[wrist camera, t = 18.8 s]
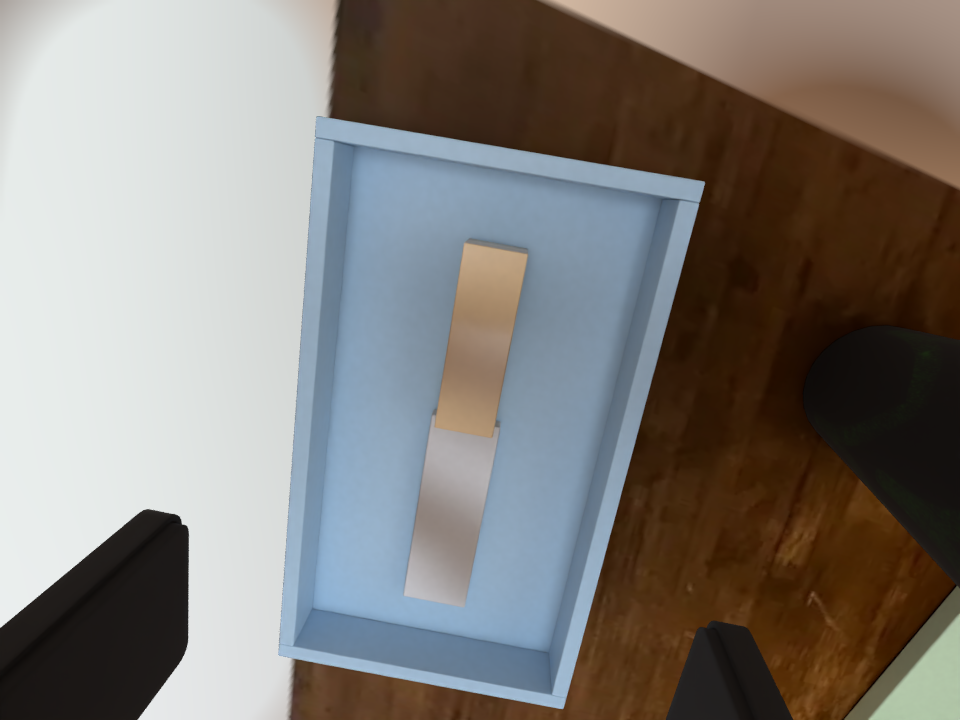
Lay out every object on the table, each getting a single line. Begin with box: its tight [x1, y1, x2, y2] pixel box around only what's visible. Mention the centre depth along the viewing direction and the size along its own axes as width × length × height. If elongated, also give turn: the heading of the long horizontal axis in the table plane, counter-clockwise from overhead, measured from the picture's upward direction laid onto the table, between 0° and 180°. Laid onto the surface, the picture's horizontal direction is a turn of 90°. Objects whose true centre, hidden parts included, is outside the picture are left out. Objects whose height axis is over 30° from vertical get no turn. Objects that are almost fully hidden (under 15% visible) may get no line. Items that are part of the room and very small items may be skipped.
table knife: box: [403, 238, 528, 607], centre depth 24 cm, size 17×3×2 cm, turn 170°
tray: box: [278, 116, 705, 709], centre depth 24 cm, size 23×13×3 cm, turn 171°
